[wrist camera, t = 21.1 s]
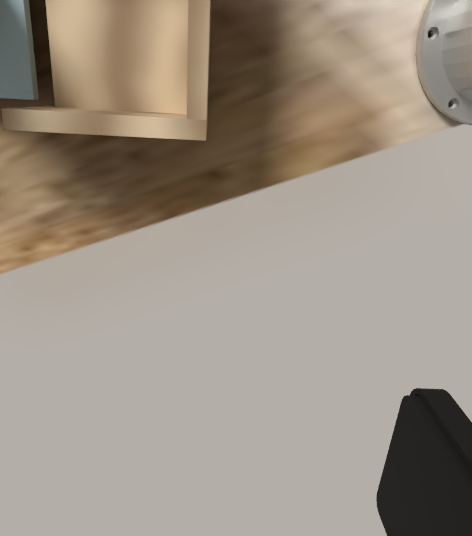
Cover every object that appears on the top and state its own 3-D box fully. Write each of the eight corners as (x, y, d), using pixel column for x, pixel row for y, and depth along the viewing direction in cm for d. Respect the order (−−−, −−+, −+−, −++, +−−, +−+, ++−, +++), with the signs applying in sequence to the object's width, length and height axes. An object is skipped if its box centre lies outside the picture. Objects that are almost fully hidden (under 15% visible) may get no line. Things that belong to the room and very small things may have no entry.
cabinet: (214, -112, 29) (216, -194, 21) (207, 129, 35) (206, 140, 27) (23, -130, 29) (-54, -223, 20) (47, 121, 34) (-5, 129, 26)
